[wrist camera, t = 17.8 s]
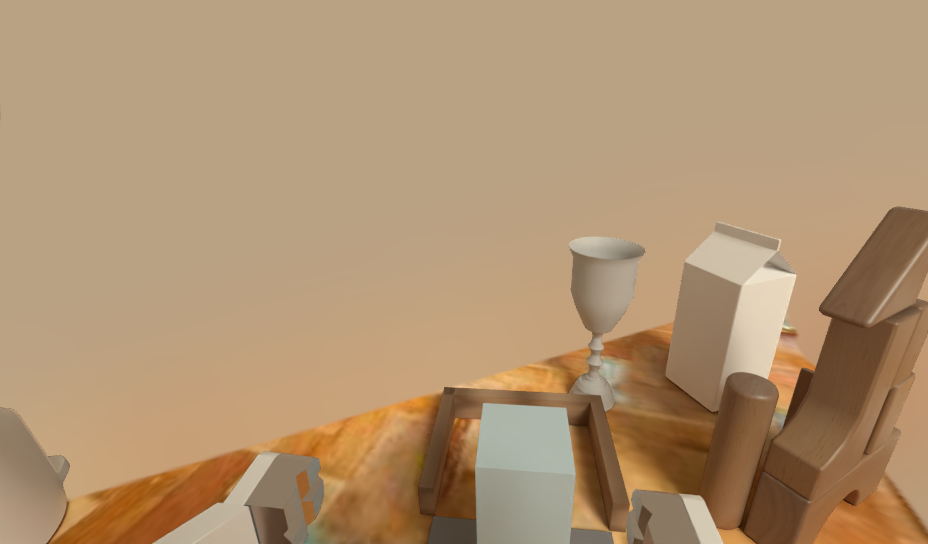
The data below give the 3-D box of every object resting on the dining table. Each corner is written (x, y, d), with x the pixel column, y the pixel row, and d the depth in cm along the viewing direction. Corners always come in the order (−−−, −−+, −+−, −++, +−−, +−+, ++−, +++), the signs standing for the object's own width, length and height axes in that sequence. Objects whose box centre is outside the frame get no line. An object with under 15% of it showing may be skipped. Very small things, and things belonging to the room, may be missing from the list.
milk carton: (712, 414, 46) (751, 244, 39) (664, 376, 52) (690, 225, 45) (762, 399, 48) (808, 235, 41) (710, 365, 54) (742, 217, 47)
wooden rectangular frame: (420, 513, 36) (418, 486, 35) (445, 409, 48) (444, 387, 47) (625, 532, 34) (629, 504, 33) (598, 418, 46) (600, 395, 45)
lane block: (479, 635, 27) (475, 467, 22) (485, 557, 32) (483, 403, 27) (560, 646, 27) (575, 474, 21) (554, 565, 31) (566, 407, 26)
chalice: (635, 397, 49) (657, 246, 42) (605, 428, 44) (625, 265, 38) (579, 371, 54) (590, 232, 47) (546, 397, 49) (554, 247, 43)
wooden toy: (791, 439, 42) (874, 184, 33) (877, 489, 37) (1005, 199, 28) (687, 507, 36) (754, 212, 26) (772, 580, 30) (895, 240, 21)
